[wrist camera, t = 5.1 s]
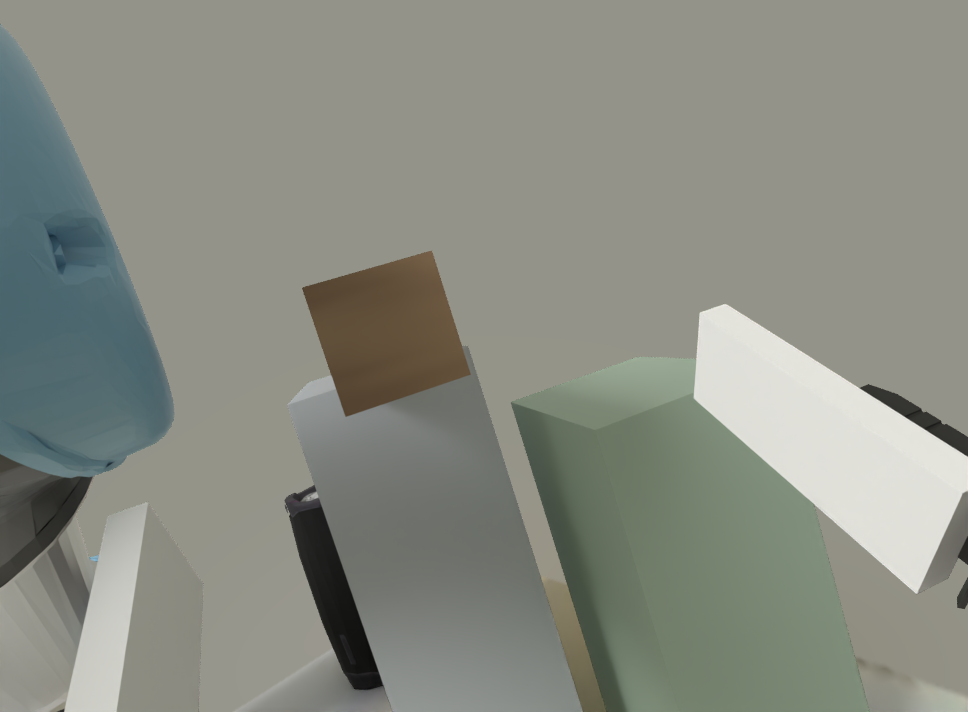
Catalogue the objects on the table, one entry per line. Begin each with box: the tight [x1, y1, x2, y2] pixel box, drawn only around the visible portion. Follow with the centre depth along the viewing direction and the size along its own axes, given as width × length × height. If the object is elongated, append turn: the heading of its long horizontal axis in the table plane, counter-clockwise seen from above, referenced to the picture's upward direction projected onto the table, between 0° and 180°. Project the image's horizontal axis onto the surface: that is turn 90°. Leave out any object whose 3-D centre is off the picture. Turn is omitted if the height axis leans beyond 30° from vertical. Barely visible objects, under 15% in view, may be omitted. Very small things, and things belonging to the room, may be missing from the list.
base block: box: [511, 357, 870, 712], centre depth 36 cm, size 14×10×25 cm
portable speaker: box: [285, 485, 383, 689], centre depth 60 cm, size 9×9×20 cm
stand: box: [287, 346, 583, 712], centre depth 43 cm, size 20×10×30 cm, turn 14°
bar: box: [302, 251, 471, 417], centre depth 35 cm, size 34×4×4 cm, turn 14°
